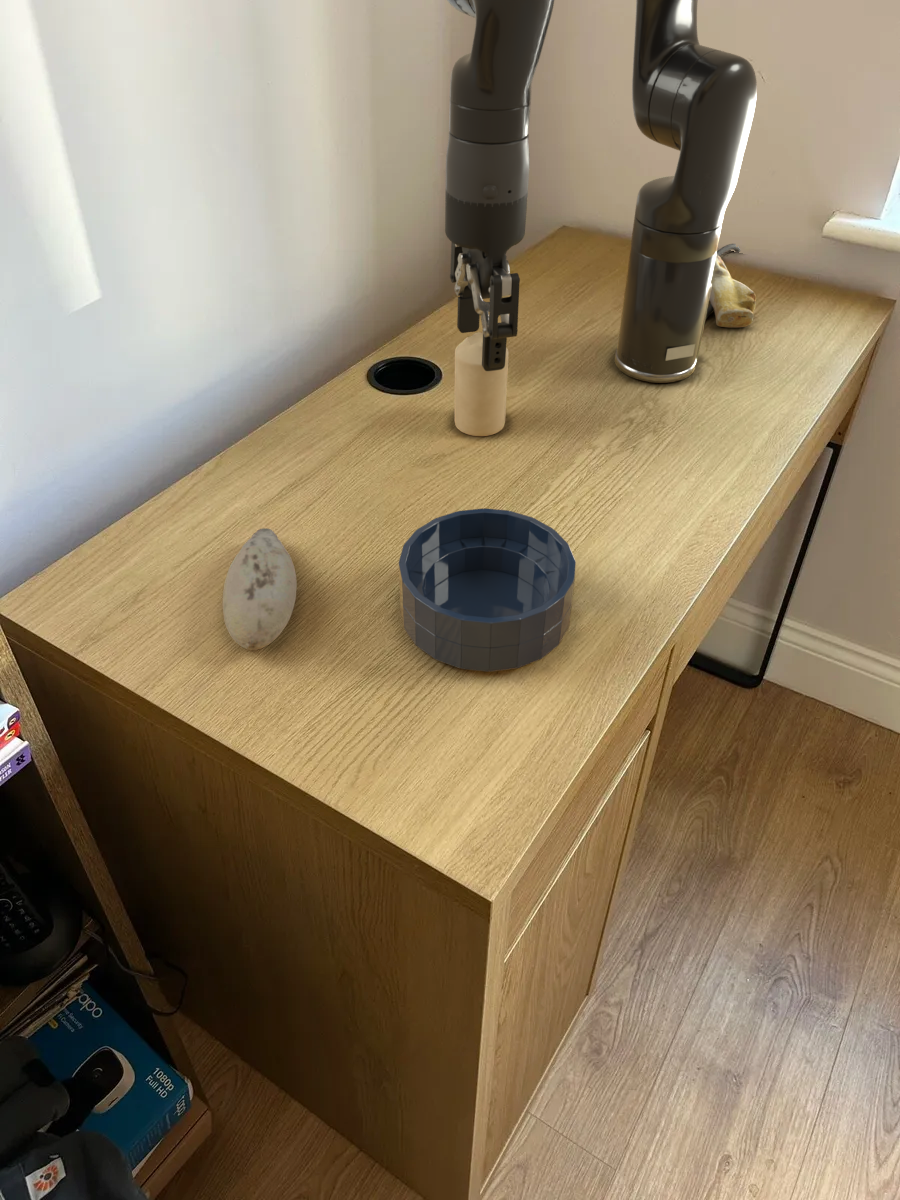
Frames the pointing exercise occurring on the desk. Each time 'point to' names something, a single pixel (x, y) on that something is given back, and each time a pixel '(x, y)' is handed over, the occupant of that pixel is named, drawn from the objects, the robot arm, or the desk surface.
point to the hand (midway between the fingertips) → (480, 349)
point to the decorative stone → (259, 591)
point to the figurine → (730, 298)
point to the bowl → (486, 589)
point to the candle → (478, 390)
